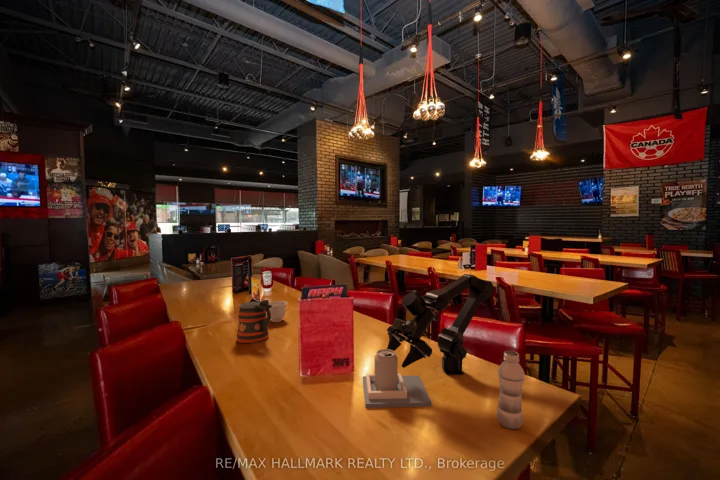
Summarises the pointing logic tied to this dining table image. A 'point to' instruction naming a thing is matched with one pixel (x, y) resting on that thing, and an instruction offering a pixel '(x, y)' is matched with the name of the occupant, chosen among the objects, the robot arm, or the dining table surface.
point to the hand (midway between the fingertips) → (393, 361)
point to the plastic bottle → (510, 391)
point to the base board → (396, 393)
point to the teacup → (277, 310)
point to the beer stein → (253, 321)
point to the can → (386, 370)
